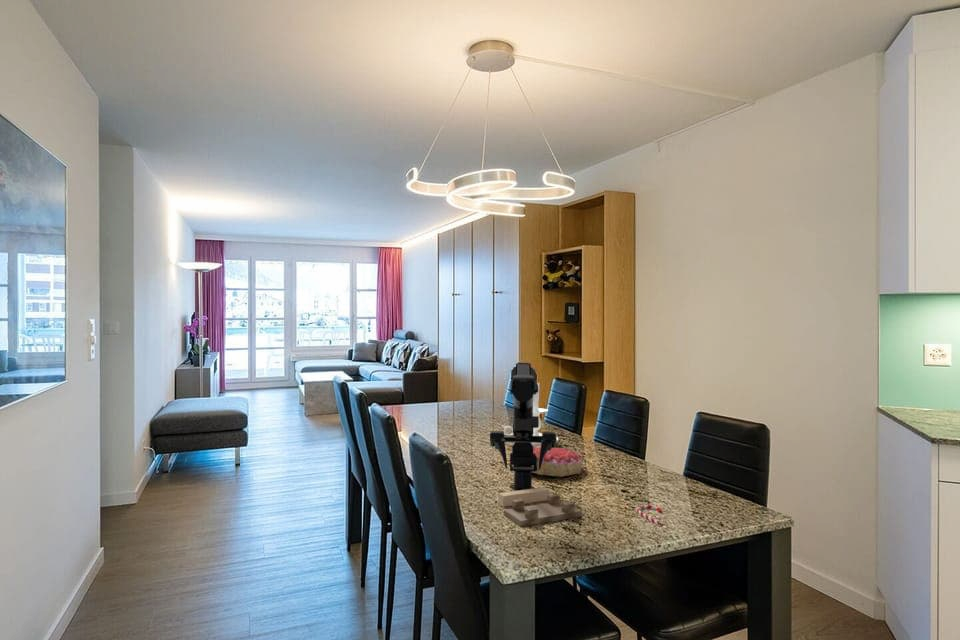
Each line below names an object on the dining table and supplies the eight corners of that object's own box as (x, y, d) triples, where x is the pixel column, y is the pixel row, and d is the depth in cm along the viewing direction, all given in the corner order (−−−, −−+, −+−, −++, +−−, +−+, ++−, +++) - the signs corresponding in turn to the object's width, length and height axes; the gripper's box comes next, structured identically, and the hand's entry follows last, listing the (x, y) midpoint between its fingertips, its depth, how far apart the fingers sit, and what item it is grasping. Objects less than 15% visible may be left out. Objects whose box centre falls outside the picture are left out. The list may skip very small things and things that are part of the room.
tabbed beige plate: (520, 526, 157) (520, 511, 157) (504, 514, 166) (504, 501, 166) (582, 516, 165) (582, 502, 165) (563, 505, 175) (563, 492, 174)
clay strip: (503, 507, 173) (503, 496, 173) (498, 504, 176) (498, 493, 176) (548, 500, 180) (549, 489, 180) (543, 498, 183) (544, 487, 183)
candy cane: (649, 522, 158) (631, 504, 173) (648, 527, 158) (631, 508, 173) (676, 522, 159) (657, 504, 174) (676, 527, 159) (657, 508, 174)
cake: (507, 473, 206) (509, 450, 207) (521, 459, 231) (523, 439, 231) (577, 483, 200) (579, 460, 200) (584, 468, 224) (585, 447, 224)
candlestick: (501, 440, 266) (501, 379, 265) (554, 440, 266) (555, 379, 266) (504, 450, 245) (504, 384, 245) (562, 450, 246) (562, 384, 245)
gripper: (489, 404, 162) (487, 458, 154) (556, 405, 161) (558, 460, 153) (491, 419, 172) (489, 471, 163) (554, 421, 170) (556, 473, 162)
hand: (522, 468), depth 160 cm, fingers open, 9 cm apart
